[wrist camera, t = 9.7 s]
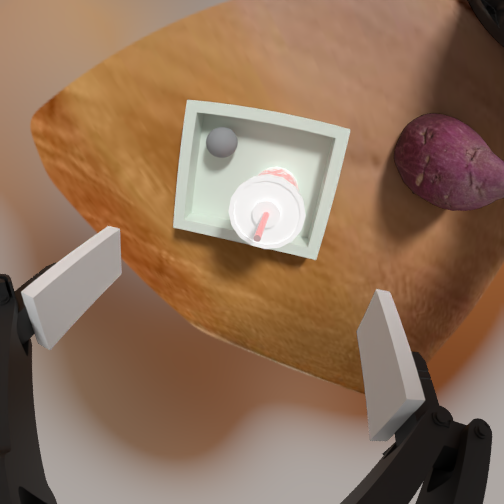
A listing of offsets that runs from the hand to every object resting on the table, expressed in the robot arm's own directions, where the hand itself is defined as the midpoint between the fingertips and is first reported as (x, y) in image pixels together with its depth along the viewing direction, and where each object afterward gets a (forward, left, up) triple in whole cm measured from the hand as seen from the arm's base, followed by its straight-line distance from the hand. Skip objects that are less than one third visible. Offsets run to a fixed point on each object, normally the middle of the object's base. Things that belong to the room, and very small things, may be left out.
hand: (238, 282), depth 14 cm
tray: (+2, -1, -20) cm, 21 cm away
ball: (+6, -4, -19) cm, 21 cm away
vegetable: (-17, -8, -21) cm, 28 cm away
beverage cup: (0, 0, -20) cm, 20 cm away
